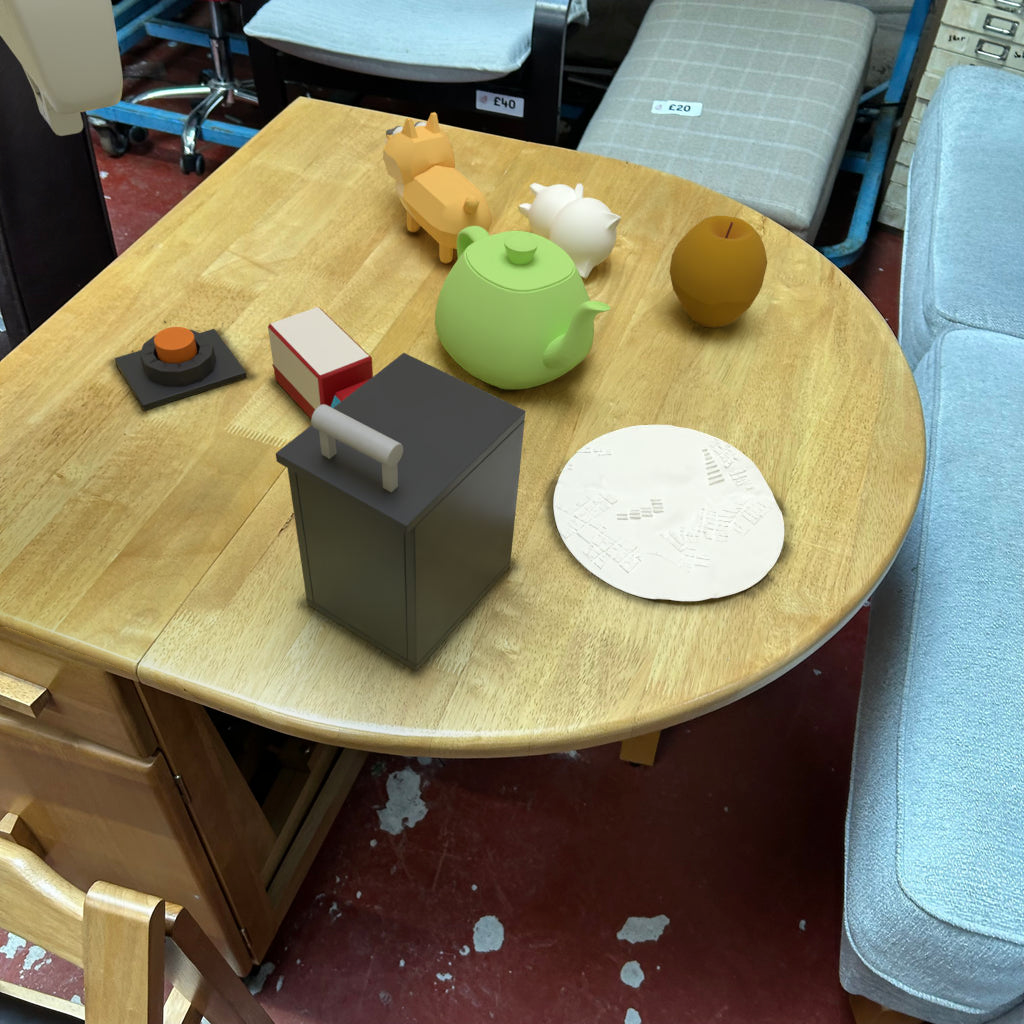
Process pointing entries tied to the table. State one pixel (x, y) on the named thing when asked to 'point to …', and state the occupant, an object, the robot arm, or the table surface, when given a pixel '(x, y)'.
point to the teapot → (514, 309)
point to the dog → (433, 184)
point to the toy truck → (317, 360)
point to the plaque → (668, 514)
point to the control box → (179, 371)
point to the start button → (175, 345)
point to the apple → (718, 270)
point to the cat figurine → (573, 223)
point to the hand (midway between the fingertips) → (63, 125)
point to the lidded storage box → (409, 557)
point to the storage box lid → (401, 440)
